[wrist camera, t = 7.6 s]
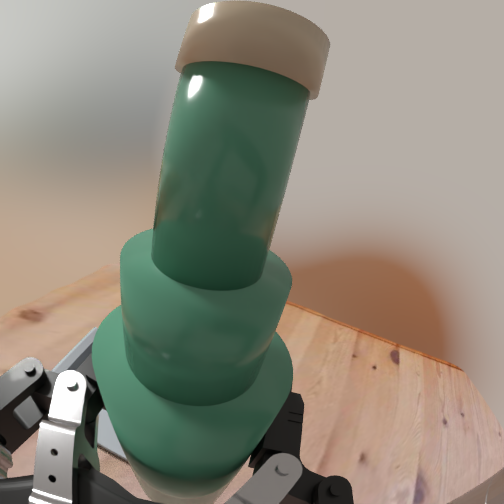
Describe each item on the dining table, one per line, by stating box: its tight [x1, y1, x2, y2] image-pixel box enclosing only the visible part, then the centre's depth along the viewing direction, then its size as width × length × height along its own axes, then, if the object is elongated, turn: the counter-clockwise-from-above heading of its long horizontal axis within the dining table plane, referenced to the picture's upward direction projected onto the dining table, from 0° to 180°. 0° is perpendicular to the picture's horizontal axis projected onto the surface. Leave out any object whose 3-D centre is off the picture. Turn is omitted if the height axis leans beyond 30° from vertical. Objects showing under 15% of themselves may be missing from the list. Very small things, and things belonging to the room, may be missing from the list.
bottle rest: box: [52, 327, 128, 461], centre depth 27 cm, size 16×16×4 cm
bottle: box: [92, 1, 330, 504], centre depth 9 cm, size 6×6×23 cm
